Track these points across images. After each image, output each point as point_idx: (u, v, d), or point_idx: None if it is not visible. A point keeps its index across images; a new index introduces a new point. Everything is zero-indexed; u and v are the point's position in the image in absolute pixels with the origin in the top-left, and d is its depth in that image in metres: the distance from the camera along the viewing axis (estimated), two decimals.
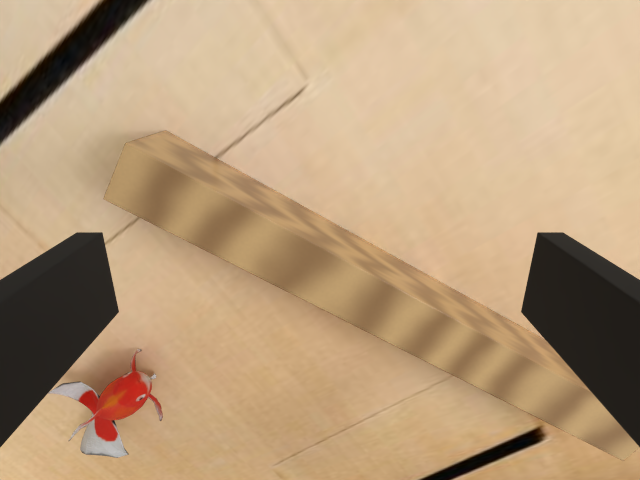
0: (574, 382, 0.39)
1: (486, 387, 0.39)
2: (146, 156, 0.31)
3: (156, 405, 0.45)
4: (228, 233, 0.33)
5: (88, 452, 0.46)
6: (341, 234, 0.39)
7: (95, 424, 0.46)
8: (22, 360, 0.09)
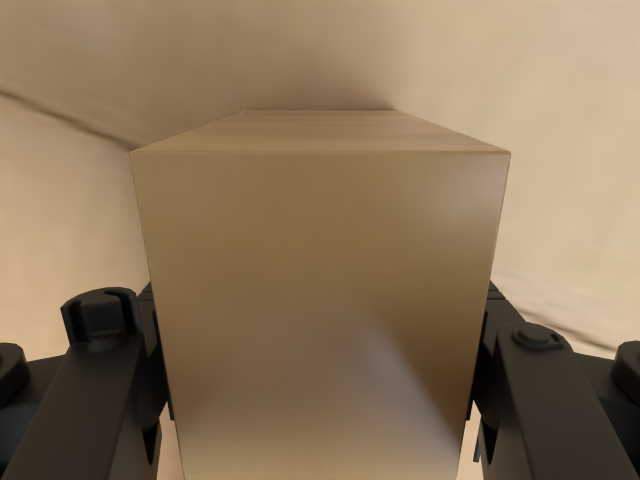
0: None
1: None
2: (481, 273, 0.06)
3: None
4: None
5: None
6: None
7: None
8: None
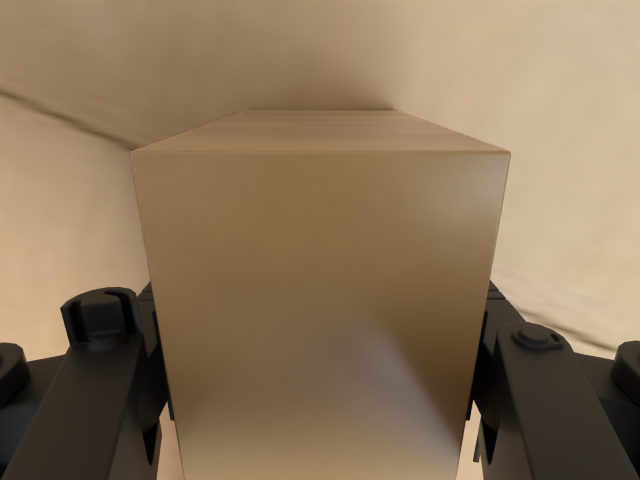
0: None
1: None
2: (481, 273, 0.06)
3: None
4: None
5: None
6: None
7: None
8: None
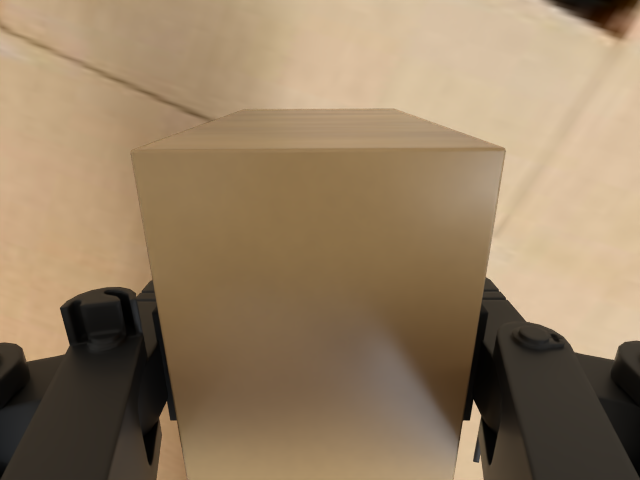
0: None
1: None
2: (477, 268, 0.06)
3: None
4: None
5: None
6: None
7: None
8: None
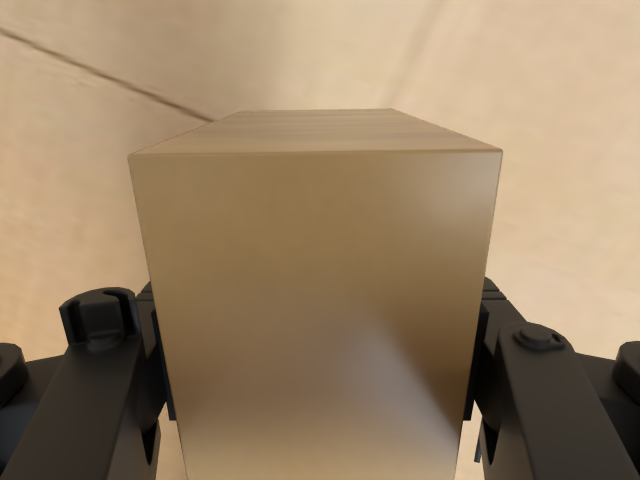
0: None
1: None
2: (476, 269, 0.06)
3: None
4: None
5: None
6: None
7: None
8: None
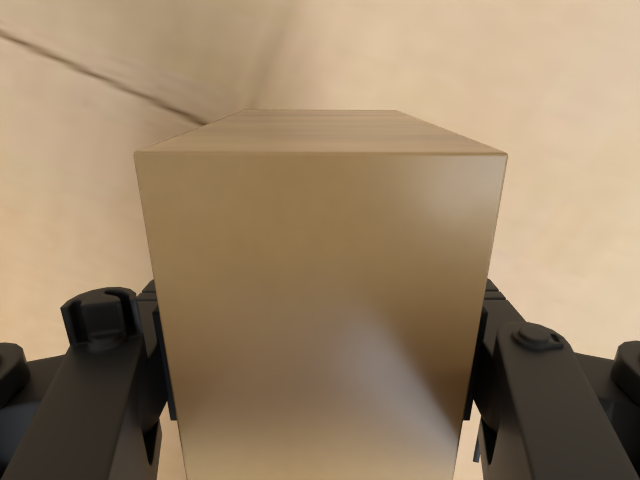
0: None
1: None
2: (479, 273, 0.06)
3: None
4: None
5: None
6: None
7: None
8: None
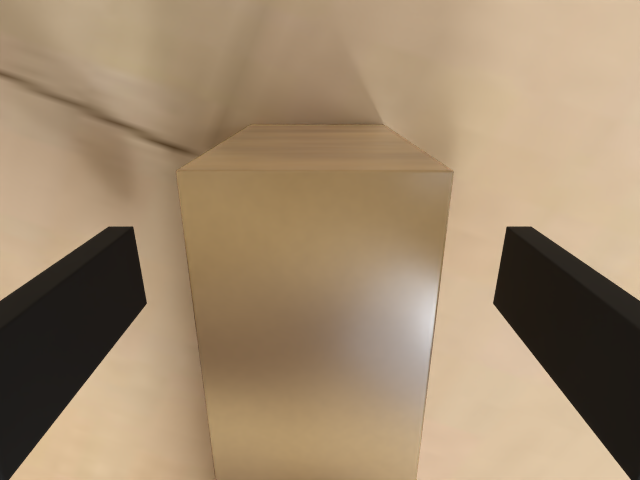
0: None
1: None
2: (436, 260, 0.08)
3: None
4: None
5: None
6: None
7: None
8: (68, 345, 0.09)
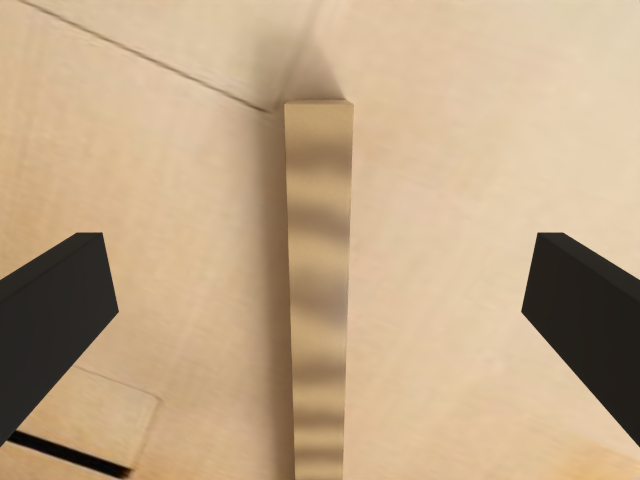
0: None
1: (299, 479, 0.43)
2: (350, 129, 0.30)
3: None
4: (316, 232, 0.33)
5: None
6: None
7: None
8: (22, 360, 0.09)
